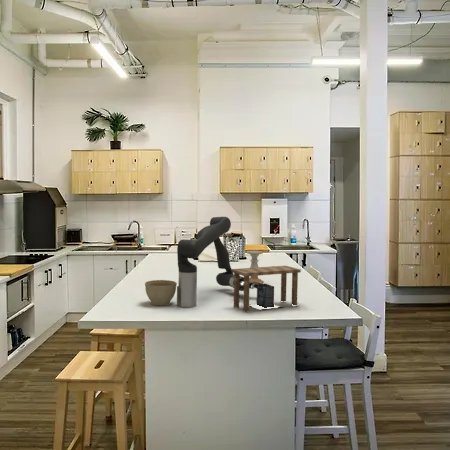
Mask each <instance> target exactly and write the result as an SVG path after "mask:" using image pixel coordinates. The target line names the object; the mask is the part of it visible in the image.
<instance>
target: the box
mask: <svg viewBox="0 0 450 450" xmlns="http://www.w3.org/2000/svg"><path fill="white" fill-rule="evenodd" d="M256 304H257V305H259V306H262V307H264V308H267V307H274V304H275V286H274V285H270V284H267V283H264V284H258V285H257V288H256Z"/></svg>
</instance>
